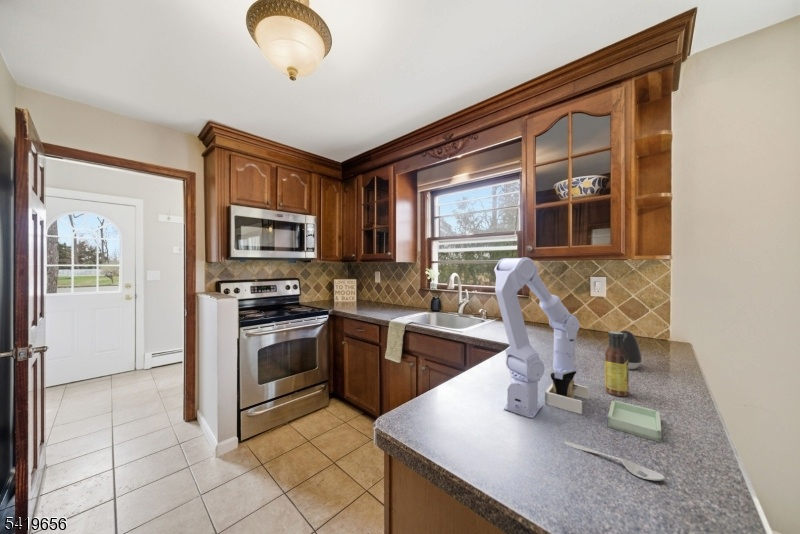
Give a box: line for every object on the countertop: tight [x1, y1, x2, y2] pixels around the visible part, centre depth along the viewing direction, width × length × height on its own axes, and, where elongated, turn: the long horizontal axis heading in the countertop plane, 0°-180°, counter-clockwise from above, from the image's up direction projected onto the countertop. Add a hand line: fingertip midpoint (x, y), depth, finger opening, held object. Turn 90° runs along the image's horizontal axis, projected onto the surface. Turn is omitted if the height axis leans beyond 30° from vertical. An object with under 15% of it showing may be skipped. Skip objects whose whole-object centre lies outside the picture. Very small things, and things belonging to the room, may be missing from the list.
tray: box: [607, 399, 662, 443], centre depth 77 cm, size 13×10×2 cm
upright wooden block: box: [552, 379, 577, 399], centre depth 90 cm, size 4×6×6 cm
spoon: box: [563, 440, 666, 481], centre depth 64 cm, size 4×21×2 cm, turn 42°
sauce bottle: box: [604, 331, 630, 397], centre depth 96 cm, size 7×6×20 cm
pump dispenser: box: [619, 330, 643, 370], centre depth 120 cm, size 10×10×15 cm
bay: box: [544, 382, 590, 415], centre depth 90 cm, size 13×10×4 cm
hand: (563, 395), depth 91 cm, fingers closed on upright wooden block, 4 cm apart
